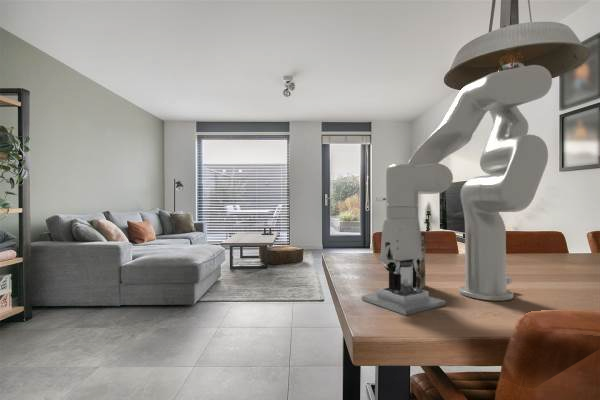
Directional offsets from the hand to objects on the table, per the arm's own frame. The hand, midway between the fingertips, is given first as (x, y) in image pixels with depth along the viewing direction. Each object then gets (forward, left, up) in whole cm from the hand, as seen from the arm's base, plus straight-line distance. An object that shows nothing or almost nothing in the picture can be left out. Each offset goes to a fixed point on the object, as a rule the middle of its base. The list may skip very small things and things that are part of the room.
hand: (402, 287), depth 83 cm
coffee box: (-14, -9, -4) cm, 17 cm away
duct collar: (0, 0, -4) cm, 4 cm away
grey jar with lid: (0, 0, -1) cm, 2 cm away
